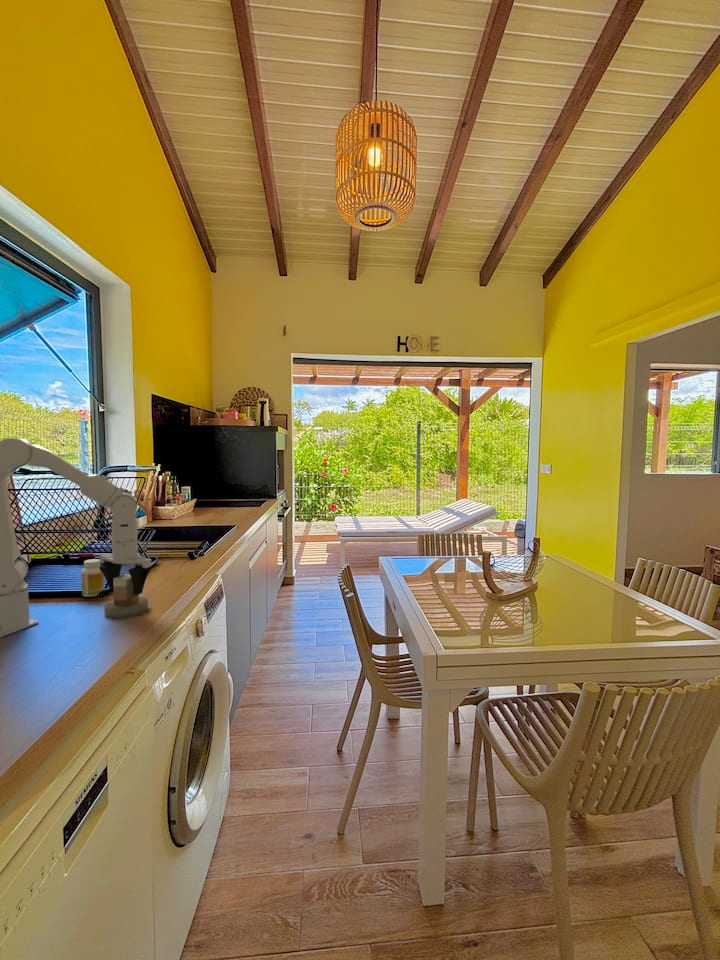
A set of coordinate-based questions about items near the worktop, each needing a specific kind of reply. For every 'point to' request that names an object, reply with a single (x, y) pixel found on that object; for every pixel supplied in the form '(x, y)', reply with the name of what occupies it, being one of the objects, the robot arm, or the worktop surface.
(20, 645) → the worktop surface
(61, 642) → the worktop surface
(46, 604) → the worktop surface
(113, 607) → the stand
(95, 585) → the supplement bottle
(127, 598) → the block
